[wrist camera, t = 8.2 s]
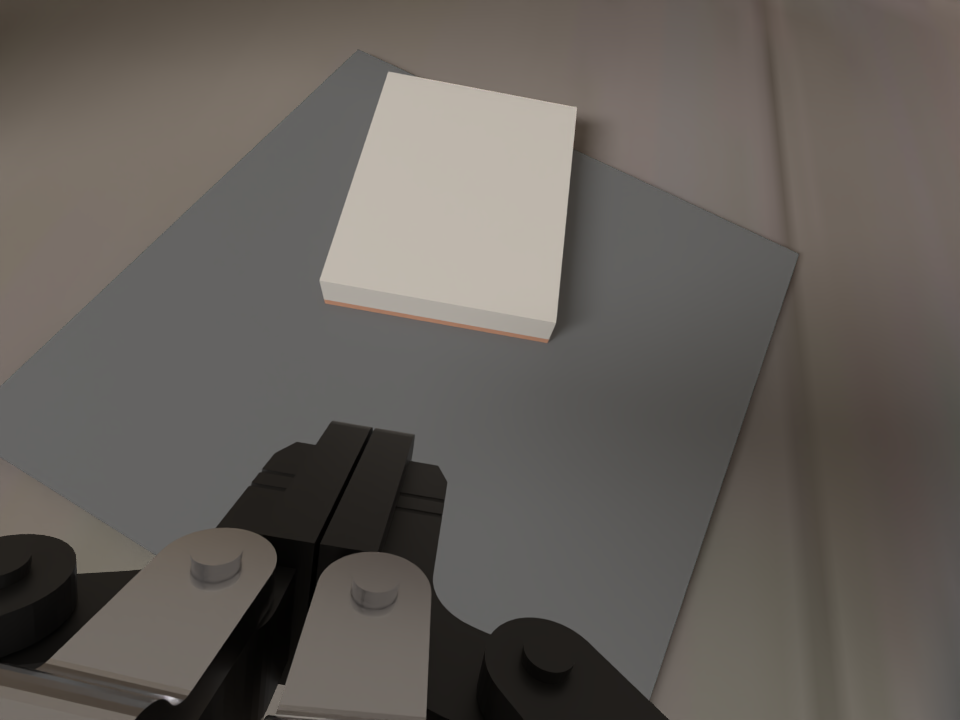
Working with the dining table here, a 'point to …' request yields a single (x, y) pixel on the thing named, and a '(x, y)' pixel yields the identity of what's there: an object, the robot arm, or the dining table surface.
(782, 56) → the dining table surface
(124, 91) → the dining table surface
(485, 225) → the tile
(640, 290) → the mat
